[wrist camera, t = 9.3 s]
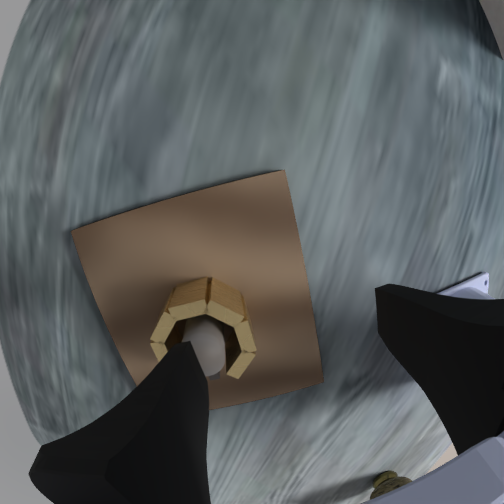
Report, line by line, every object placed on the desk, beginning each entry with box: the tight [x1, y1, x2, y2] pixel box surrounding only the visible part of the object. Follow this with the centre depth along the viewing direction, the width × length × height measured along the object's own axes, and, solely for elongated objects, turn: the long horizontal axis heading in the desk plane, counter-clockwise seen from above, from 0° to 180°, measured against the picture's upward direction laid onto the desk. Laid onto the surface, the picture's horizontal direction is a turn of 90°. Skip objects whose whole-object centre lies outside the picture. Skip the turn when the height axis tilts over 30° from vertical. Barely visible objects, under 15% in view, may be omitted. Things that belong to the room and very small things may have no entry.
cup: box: [370, 471, 412, 500], centre depth 26 cm, size 8×7×8 cm
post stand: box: [71, 170, 324, 410], centre depth 18 cm, size 16×14×6 cm
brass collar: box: [150, 276, 257, 379], centre depth 18 cm, size 6×6×4 cm
